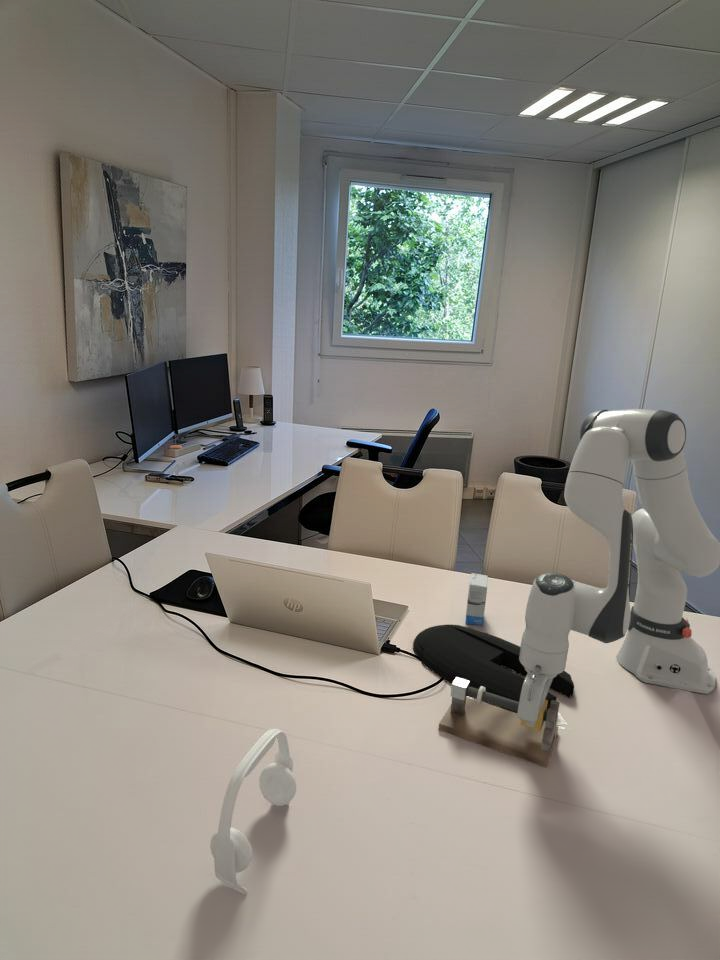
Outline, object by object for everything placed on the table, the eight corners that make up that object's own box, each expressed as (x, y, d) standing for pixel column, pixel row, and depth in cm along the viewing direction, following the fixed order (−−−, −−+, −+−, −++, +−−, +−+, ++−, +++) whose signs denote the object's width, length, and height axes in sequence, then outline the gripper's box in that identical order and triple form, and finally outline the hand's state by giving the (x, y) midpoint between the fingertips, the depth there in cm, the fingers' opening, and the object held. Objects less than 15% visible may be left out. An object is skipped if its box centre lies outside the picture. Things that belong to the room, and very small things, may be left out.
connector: (466, 709, 140) (470, 681, 138) (462, 717, 137) (465, 688, 136) (453, 705, 141) (456, 676, 139) (448, 712, 139) (451, 683, 137)
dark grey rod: (556, 722, 132) (558, 706, 131) (552, 732, 129) (555, 716, 128) (468, 693, 139) (470, 679, 138) (463, 702, 136) (465, 687, 135)
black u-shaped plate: (449, 621, 182) (451, 605, 180) (587, 685, 155) (591, 667, 154) (390, 652, 164) (391, 635, 163) (535, 731, 138) (538, 710, 136)
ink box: (482, 626, 179) (487, 587, 176) (464, 623, 180) (469, 584, 177) (483, 612, 188) (488, 574, 184) (466, 610, 188) (470, 572, 185)
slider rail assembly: (557, 732, 137) (564, 692, 134) (546, 767, 126) (553, 724, 124) (456, 699, 146) (461, 661, 143) (438, 729, 135) (442, 689, 133)
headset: (266, 792, 116) (269, 705, 111) (303, 805, 113) (307, 716, 109) (202, 882, 98) (201, 783, 93) (244, 899, 95) (245, 798, 90)
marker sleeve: (544, 719, 133) (547, 700, 132) (540, 731, 129) (543, 711, 128) (525, 712, 135) (528, 694, 134) (520, 724, 131) (523, 705, 130)
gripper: (549, 686, 118) (538, 751, 121) (568, 637, 135) (558, 695, 139) (514, 676, 120) (505, 740, 124) (537, 629, 138) (528, 686, 142)
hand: (533, 716), depth 132 cm, fingers closed on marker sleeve, 4 cm apart
